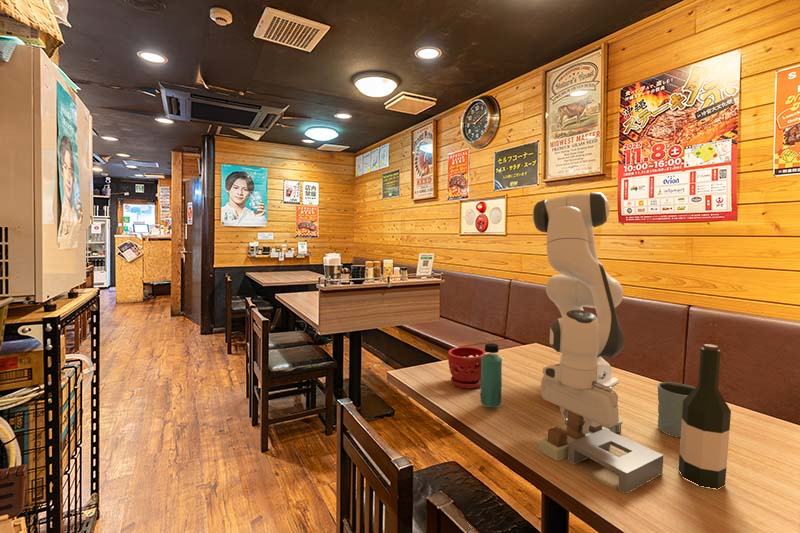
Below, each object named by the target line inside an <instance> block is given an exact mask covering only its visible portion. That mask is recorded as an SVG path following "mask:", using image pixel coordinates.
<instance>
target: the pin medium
mask: <svg viewBox="0 0 800 533" xmlns="http://www.w3.org/2000/svg"><path fill="white" fill-rule="evenodd" d="M567 433H568V432H567V430H566V429H563V428H561V427H559V426H554V427H553V426H552V427H550V428H548V429H547V437H548V439H547V441H548V442H549V443H551V444H553V445H555V446H557V447H558V448H559V447H561V446H564V445H566V444H567Z"/></svg>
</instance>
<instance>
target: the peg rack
mask: <svg viewBox="0 0 800 533" xmlns="http://www.w3.org/2000/svg"><path fill="white" fill-rule="evenodd" d="M603 429H607V428H605V427H603V426H602V430H603ZM607 430H609V429H607ZM609 431H610V430H609ZM592 433H593V432H591V431H589V432H588V434H586V435H585V436H587V435H590V434H592ZM547 439H548V436H547V437H545V438H542V439H540V440H538V451H539V452H541V453H543V455H546V456H547V457H549V458H551V459H553V460H554V461H556V462H558V461H560V460H562V459H564V458H568V448H569V442H572V441H574V440H576V439H574V438H572V437H570V436H568V435H567V444H566V445H564V446H561V447H559V448H558V447H557V446H555V445H553V444H551V443H549V442H548V441H547Z"/></svg>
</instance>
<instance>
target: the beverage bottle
mask: <svg viewBox="0 0 800 533" xmlns="http://www.w3.org/2000/svg"><path fill="white" fill-rule="evenodd" d="M484 351H485V355H484V356H482V358H481V379H480V382H481V386H480V397H479V399H480V404H481V405H483V406H485V407H488V408H498V407H500V406H501V405H502V399H503V398H502V384H503V377H502V376H503V374H502V373H503V371H502V370H503V369H502V368H503V367H502V365H503V364H502V362H503V360H502V359H503V358H502V357H501V356H500V355H499V354H498V353H499V345H498V344H497V343H492V342H491V343H490V342H489V343H485V345H484Z"/></svg>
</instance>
